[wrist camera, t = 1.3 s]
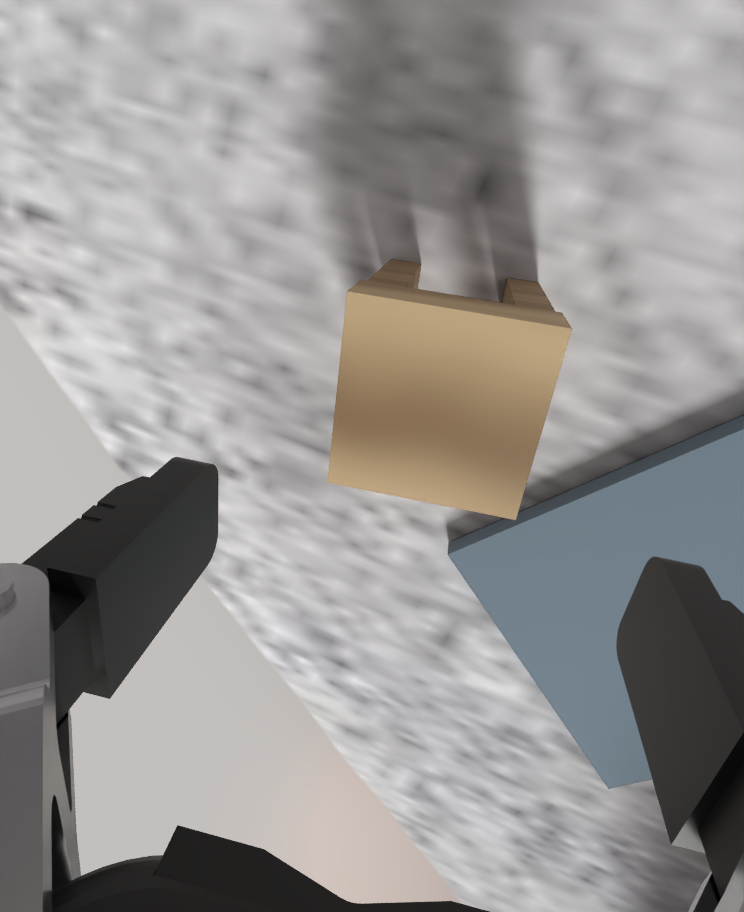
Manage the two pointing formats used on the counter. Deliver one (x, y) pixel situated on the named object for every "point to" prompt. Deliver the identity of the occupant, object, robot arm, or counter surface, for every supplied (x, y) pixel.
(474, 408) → the wooden stool
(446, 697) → the counter surface
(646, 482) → the mat
